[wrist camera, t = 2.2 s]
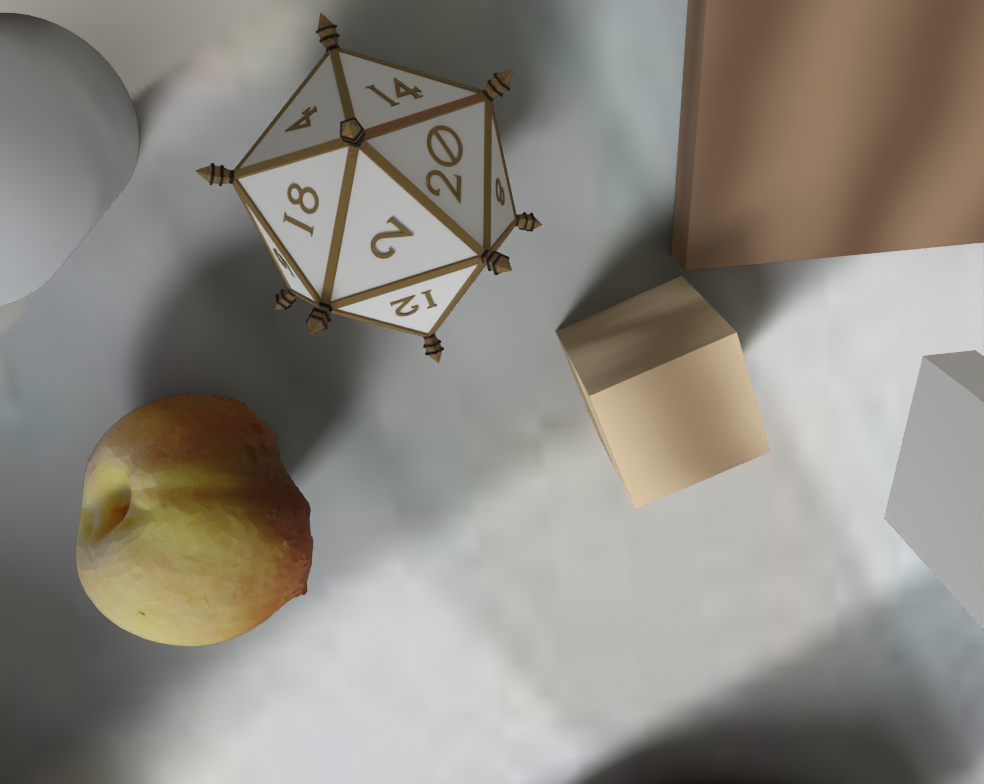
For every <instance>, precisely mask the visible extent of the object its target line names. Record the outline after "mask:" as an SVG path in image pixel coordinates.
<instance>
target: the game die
mask: <svg viewBox="0 0 984 784" xmlns="http://www.w3.org/2000/svg"><path fill="white" fill-rule="evenodd" d="M336 27H337V25H334V24H332V23H331V22H330V21H329V20H328V19H327V18H326V17H325V16H324V15H323V14H322V13H320V19H319V25H318V30H317V31H316V34H317V33H318V34H319V36H320V39H321V40H319V41H320V43H321V42H322V43H323V44H324V46H325V47H326V53H325V55H324V56H323V57H322V59H321V60H320V61H319V62H318V64H317V65H316V66H315V67H314V69H313V70H312V71H311V73H310V74H309V75H308V76H307V78H306V79H305V80H304V81H303V83H302V84H301V85H300V87H299V88H298V89H297V90H296V92H295V93H294V94H293V95H292V97H291V98H290V99H289V101H288V102H287V103H286V104H285V106H284V107H283V108H282V109H281V111H280V112H279V113H278V115H277V116H276V117H275V118H274V120H273V121H272V122H271V123H270V125H269V126H268V127H267V129H266V130H265V131H264V132H263V134H262V135H261V136H260V137H259V139H258V140H257V141H256V143H255V144H254V145H253V146H252V148H251V149H250V150H249V151H248V153H247V154H246V155H245V157H244V158H243V159H242V160H241V162H240V163H239V164H238V165H237V167H236V168H235V169H234V170H228V169H226V168H224V166H223V165H221V166H220V167H219V166H215V165H214V163H211V166H208V167H205V168H202V169H199V170H196V172H197V173H199V174H200V175H201V176H202V177H203V178H205V179H206V180H207V181H208V182H210V185H212V183H215V184H219V186H222V184H226V183H231V184H233V186H234V188H235V189H236V191H237V193H238V195H239V197H240V199H241V201H242V203H243V204H244V206H245V208H246V210H247V212H248V214H249V216H250V217H251V219H252V221H253V223H254V225H255V227H256V229H257V230H258V232H259V234H260V236H261V238H262V240H263V242H264V243H265V245H266V247H267V249H268V251H269V253H270V255H271V256H272V258H273V260H274V262H275V264H276V266H277V268H278V269H279V271H280V273H281V275H282V277H283V279H284V281H285V282H286V284H287V286H288V289H285V290H283V289H282V290H281V293H280V294H276V306H275V310H279V309H285V310H287V309H288V308H289V307H291V306H292V305H291V304H292V303H294V302H295V301H296V299H295V298H296V296H298V297H299V298H301V299H303V300H305V301H307V302H309V303H311V304H312V305H314V306H316V307H317V308H315V307H314V308H313V310H312V313H311V314H310V315H309V316H308V319H307V321H306V323H307V324H308V327H309V333H310V335H311V334H313V333H315V332H318V331H320V330H325V329H327V328H328V327H327V323H328V322H331V319H330V313H332V314H336V315H340V316H344V317H348V318H352V319H356V320H360V321H364V322H368V323H372V324H376V325H379V326H383V327H387V328H391V329H395V330H399V331H403V332H407V333H411V334H415V335H419V336H423V337H424V339H425V344H424V346H423V347H424V348H426V353H425V354H426V355H429V356H430V357H431V358H433V359H434V360H435V361H437V362H438V363H439V360H440V357H441V353H442V350H444V348H443V347H441V345H440V343H441V341H440V340H438V339H437V337H436V336H435V332H436V331H437V330H438V328H439V327H440V326H441V324H442V323H443V322H444V320H445V319H446V318H447V316H448V315H449V314H450V312H451V311H452V310H453V308H454V307H455V306H456V304H457V303H458V302H459V300H460V299H461V298H462V296H463V295H464V294H465V292H466V291H467V290H468V288H469V287H470V286H471V284H472V283H473V282H474V280H475V279H476V278H477V276H478V275H479V274H480V272H481V271H482V270H483V268H484V267H485V266H486V265H487V268H488V270H489V271H491V270H492V271H494V274H495V275H498V274H500V273H502V272H507V271H512V269H511V266H510V263H509V257H508V256H505V255H503V254H501V253H499V252H497V250H498V248H499V247H500V246H501V244H502V243H503V242H504V240H505V239H506V238H507V236H508V235H509V234H510V232H511V231H512V230H513V228H514V227H515V226H517V227H519V229H520V230H526V231H533V229H535V228H537V227H539V226H541V225H542V224H541V223H540V222H539V221H538V220H537V219H536V218H535V217H534V215H533V213H530V214H526V212H524V213H523V214H521V215H517V214H516V211H515V206H514V201H513V197H512V192H511V187H510V183H509V178H508V173H507V169H506V164H505V159H504V155H503V150H502V146H501V141H500V136H499V132H498V127H497V122H496V118H495V113H494V108H493V104H492V101H493V99H494V98H496V97H498V96H501V97H502V96H503V93H504V92H505V91H506V90H508V91H509V90H510V88H509V84H510V80H511V76H512V72H513V70H510V71H507V72H504V73H500V74H498V73H495V74H494V77H493V78H492V80H488V82H487V83H488V85H487V87H486V88H485V90H484V91H483V90H479V89H476V88H472V87H469V86H466V85H462V84H459V83H456V82H452V81H449V80H446V79H442V78H439V77H436V76H432V75H429V74H425V73H422V72H419V71H415V70H412V69H409V68H405V67H402V66H399V65H395V64H392V63H388V62H385V61H382V60H378V59H375V58H372V57H368V56H365V55H362V54H358V53H355V52H352V51H348V50H345V49H341V48H340V47H339V45H338V37H340V36H339V34H337V32H336V29H335V28H336Z"/></svg>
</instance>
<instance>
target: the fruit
mask: <svg viewBox="0 0 984 784" xmlns="http://www.w3.org/2000/svg"><path fill="white" fill-rule="evenodd" d="M277 438H278V437H277V435H276V434H275V433H274V432H273V430H272V429H271V428H270V427H269V426H268V425H266V424H265V423H264V422H263V421H262V420H261V419H260V418H259V417H257V416H256V415H255V414H254V413H253V412H252V411H251V410H250V409H249V408H248V406H247V405H246V404H245V403H242V402H240V401H238V400H235V399H232V398H224V397H223V398H222V397H221V396H220V395H213V396H208V395H205V394H201V395H195V394H190V393H186V394H182V395H177V396H170V397H166V398H162V399H159V400H156V401H153V402H150V403H147V404H145V405H143V406H141V407H138V408H136V409H135V410H133V411H131V412H130V413H128V414H126V415H125V416H123V417H122V418H121V419H120V420H119V421H117V422H116V423H115V424H114V425H113V426H112V427H111V428H110V429H109V430H108V431H107V432H106V433H105V435H104V436H103V437H102V438H101V440H100V441H99V443H98V444H97V445H96V447H95V449H94V451H93V453H92V454H91V456H90V458H89V461H88V464H87V468H86V471H85V478H84V486H83V498H82V505H81V514H80V521H79V528H78V536H77V544H76V561H77V570H78V574H79V579H80V581H81V583H82V586H83V588H84V590H85V592H86V594H87V595H88V597H89V598H90V599H91V601H92V602H93V603H94V605H95V606H96V607H97V608H98V610H99V611H100V612H101V613H102V614H103V615H105V616H106V617H107V618H108V619H110V620H111V621H112V622H113V623H115V624H116V625H117V626H119V627H120V628H122V629H124V630H126V631H128V632H130V633H132V634H135V635H137V636H139V637H142V638H144V639H147V640H151V641H154V642H158V643H164V644H169V645H180V646H200V645H211V644H215V643H219V642H223V641H227V640H230V639H232V638H235V637H237V636H239V635H242V634H244V633H246V632H248V631H250V630H251V629H253V628H255V627H256V626H258V625H259V624H261V623H263V622H264V621H265V620H267V619H268V618H269V617H270V616H272V615H273V613H275V612H276V611H277V610H279V609H280V607H282V606H283V605H284V604H285V603H287V602H288V601H289V600H291V599H292V598H295V597H298V596H299V595H301V594H302V595H305V594H306V592H307V579H308V576H309V572H310V568H311V564H312V551H313V538H312V537H311V532H310V519H309V517H310V511H311V509H310V506H309V503H308V501H307V500H306V499H305V497H304V496H303V494H302V493H301V492H300V491H299V488H298V487H297V486H296V485H295V484H294V482H293V480H292V479H291V477H290V476H289V475H288V474H287V472H286V469H285V468H284V466H283V464H282V463H281V461H280V450H279V448H278V444H277Z"/></svg>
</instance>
